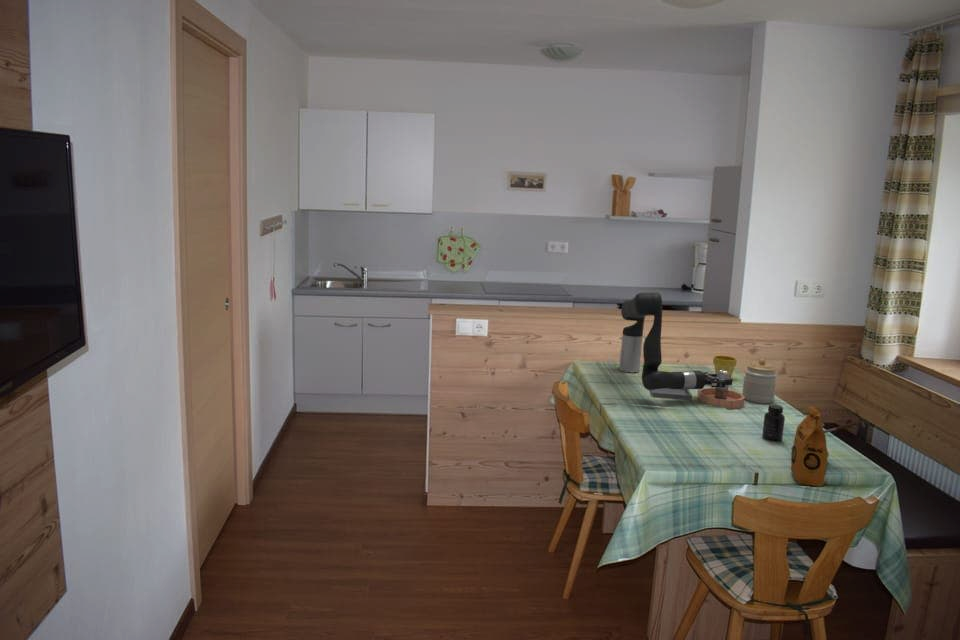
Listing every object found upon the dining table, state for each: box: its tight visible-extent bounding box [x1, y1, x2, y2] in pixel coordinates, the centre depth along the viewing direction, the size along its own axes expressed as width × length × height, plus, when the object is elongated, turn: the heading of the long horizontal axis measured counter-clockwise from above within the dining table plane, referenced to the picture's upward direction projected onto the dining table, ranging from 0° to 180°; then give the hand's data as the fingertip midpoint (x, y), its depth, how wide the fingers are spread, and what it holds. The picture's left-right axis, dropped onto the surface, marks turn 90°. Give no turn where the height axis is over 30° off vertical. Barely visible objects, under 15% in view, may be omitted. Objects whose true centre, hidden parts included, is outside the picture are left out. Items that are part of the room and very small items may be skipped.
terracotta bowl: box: [696, 387, 746, 410], centre depth 313 cm, size 18×18×4 cm
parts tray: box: [649, 388, 693, 401], centre depth 320 cm, size 16×16×2 cm
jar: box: [741, 358, 778, 404], centre depth 319 cm, size 13×13×18 cm
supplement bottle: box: [761, 404, 786, 442], centre depth 271 cm, size 7×7×12 cm
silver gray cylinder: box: [714, 370, 730, 400], centre depth 312 cm, size 5×5×12 cm
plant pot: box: [712, 354, 738, 380], centre depth 352 cm, size 10×10×10 cm
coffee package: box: [790, 405, 829, 488], centre depth 233 cm, size 10×12×22 cm
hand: (726, 379), depth 312 cm, fingers open, 8 cm apart
